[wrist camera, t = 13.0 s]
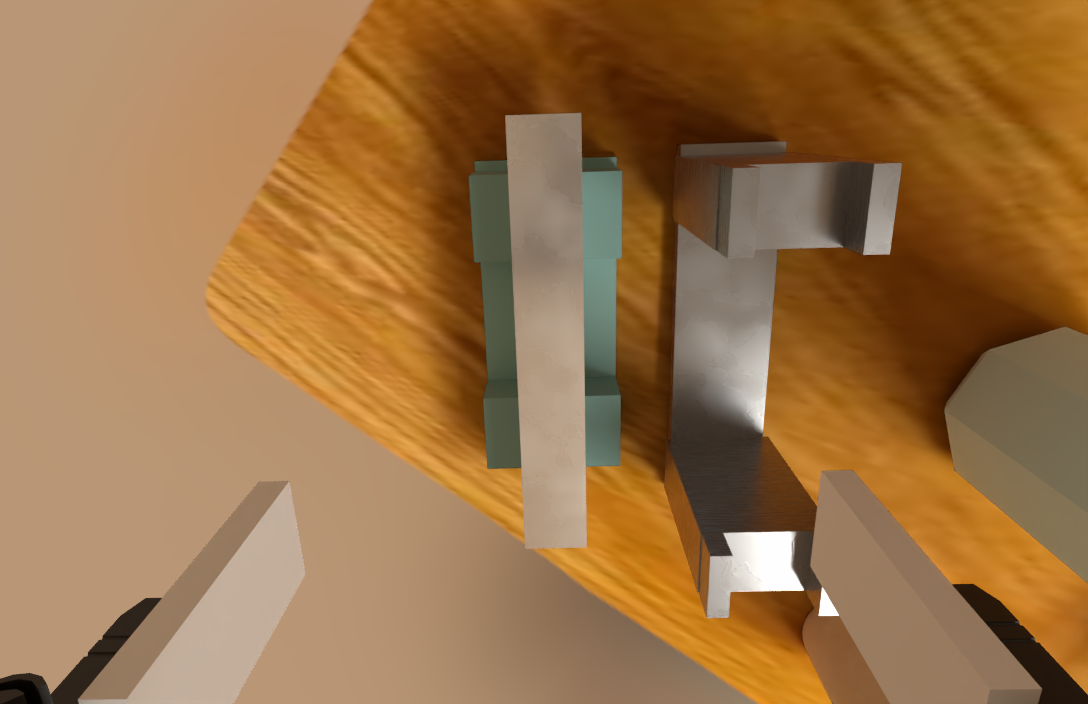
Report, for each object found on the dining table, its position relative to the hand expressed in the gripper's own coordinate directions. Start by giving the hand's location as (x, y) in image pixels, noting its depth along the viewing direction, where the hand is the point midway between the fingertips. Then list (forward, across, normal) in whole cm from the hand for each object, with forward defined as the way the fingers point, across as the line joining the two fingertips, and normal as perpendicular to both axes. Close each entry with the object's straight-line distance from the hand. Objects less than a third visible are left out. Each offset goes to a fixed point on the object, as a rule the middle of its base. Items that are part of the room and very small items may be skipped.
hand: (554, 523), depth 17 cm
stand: (+20, +9, -1) cm, 22 cm away
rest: (+20, 0, 0) cm, 20 cm away
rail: (+17, 0, 0) cm, 17 cm away
